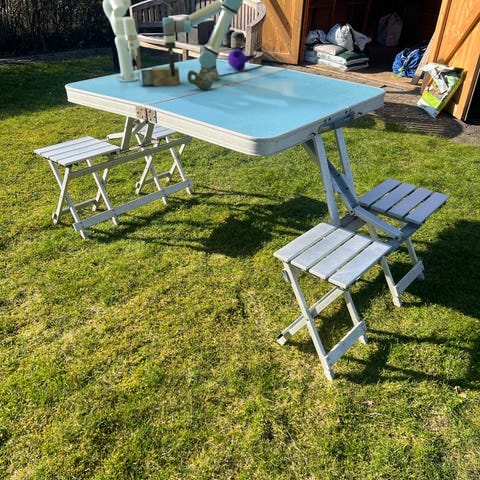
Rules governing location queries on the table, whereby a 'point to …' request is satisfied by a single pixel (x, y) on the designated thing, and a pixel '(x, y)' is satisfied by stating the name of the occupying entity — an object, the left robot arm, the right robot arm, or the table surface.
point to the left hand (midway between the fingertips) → (134, 66)
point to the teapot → (202, 78)
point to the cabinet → (165, 76)
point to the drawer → (144, 77)
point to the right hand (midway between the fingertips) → (172, 74)
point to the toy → (238, 59)
